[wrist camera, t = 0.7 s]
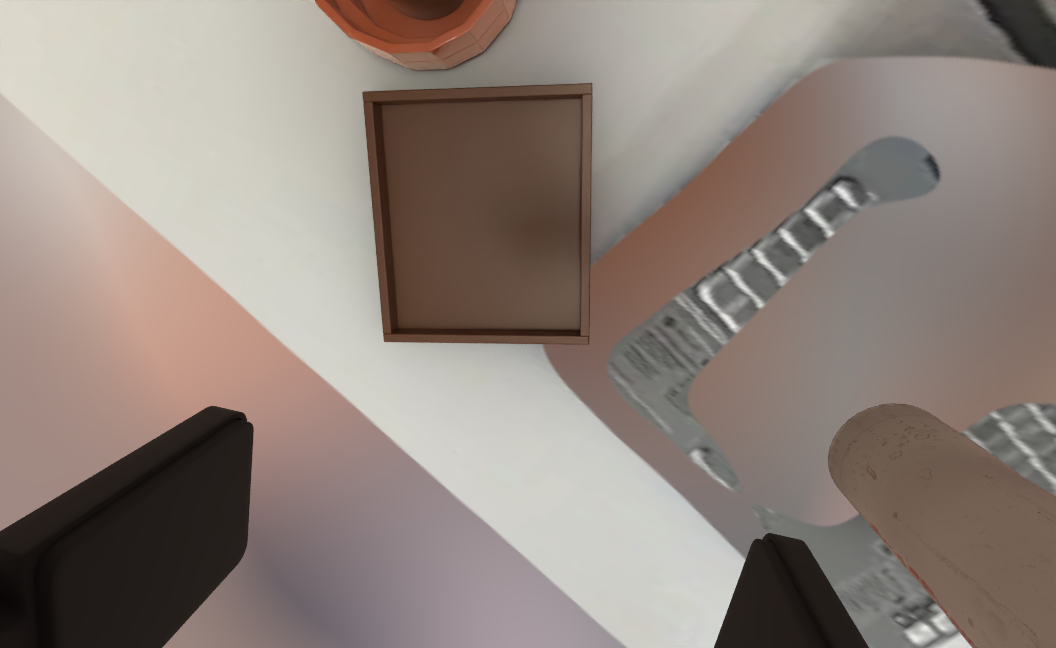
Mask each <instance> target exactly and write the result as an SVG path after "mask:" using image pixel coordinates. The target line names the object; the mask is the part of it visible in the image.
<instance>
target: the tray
mask: <svg viewBox="0 0 1056 648" xmlns="http://www.w3.org/2000/svg"><path fill="white" fill-rule="evenodd" d="M363 101H364V114H365V126H366V138H367V149H368V161H369V173H370V185H371V196H372V208H373V220H374V231H375V243H376V255H377V266H378V278H379V290H380V301H381V313H382V325H383V333H384V334H383V336H384V342H431V343H506V344H582V345H585V344H587V345H588V344H589V318H590V317H589V316H590V235H591V152H592V83H586V84H559V85H531V86H504V87H477V88H450V89H423V90H396V91H368V92H363Z"/></svg>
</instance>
